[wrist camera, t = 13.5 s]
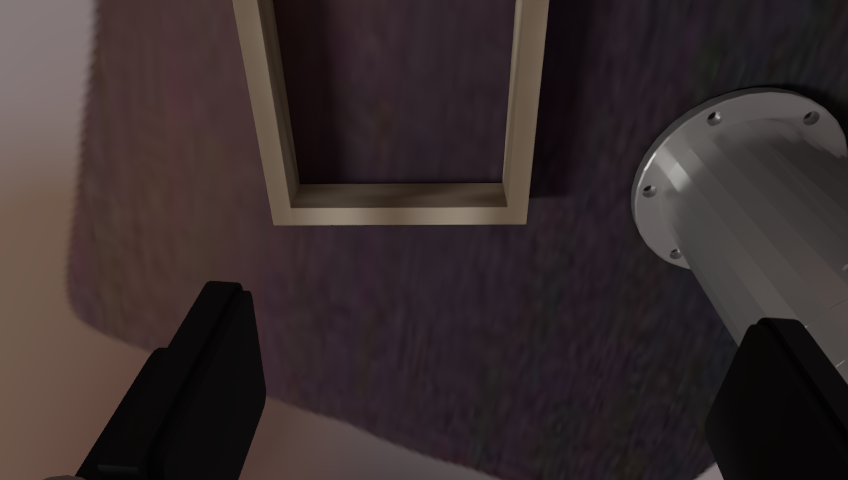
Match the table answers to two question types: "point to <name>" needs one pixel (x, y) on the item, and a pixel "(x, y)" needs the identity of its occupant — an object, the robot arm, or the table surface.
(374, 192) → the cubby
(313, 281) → the table surface
